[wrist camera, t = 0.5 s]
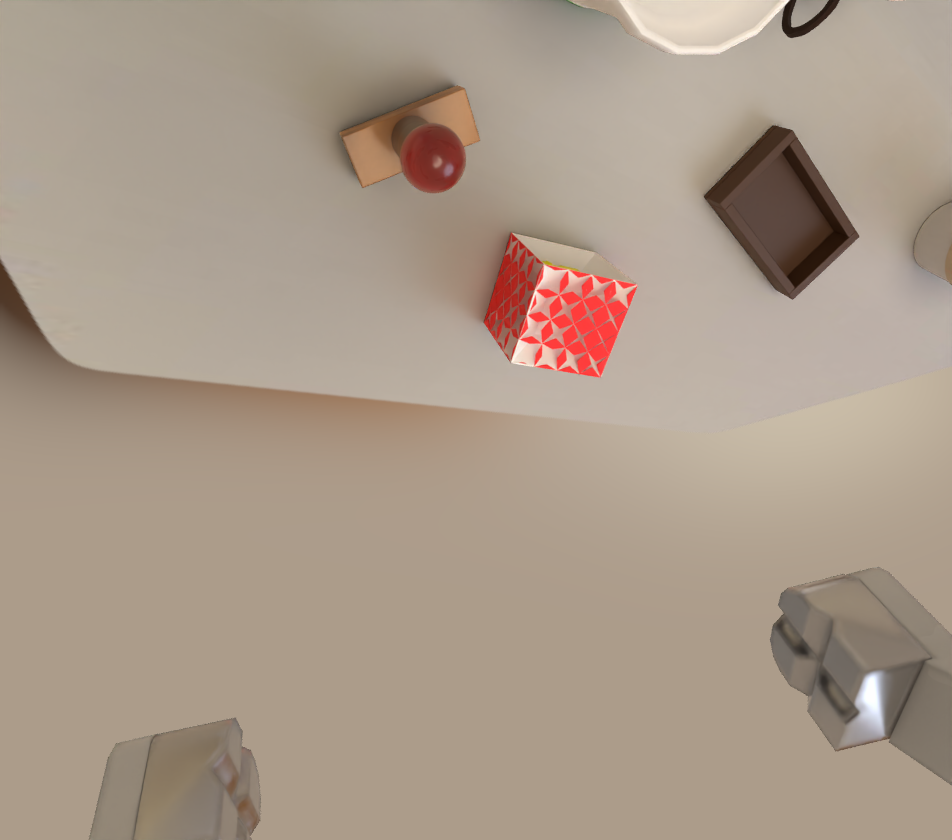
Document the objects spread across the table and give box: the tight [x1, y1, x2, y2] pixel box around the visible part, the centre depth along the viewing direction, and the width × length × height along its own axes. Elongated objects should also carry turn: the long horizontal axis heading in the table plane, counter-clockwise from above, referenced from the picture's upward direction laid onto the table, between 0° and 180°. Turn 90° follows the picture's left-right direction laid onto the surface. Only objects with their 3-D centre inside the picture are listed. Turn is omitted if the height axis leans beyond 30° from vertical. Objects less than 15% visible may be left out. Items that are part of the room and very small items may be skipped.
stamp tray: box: [704, 126, 859, 299], centre depth 60 cm, size 13×8×2 cm, turn 45°
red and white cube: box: [484, 233, 638, 377], centre depth 56 cm, size 8×8×8 cm
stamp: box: [340, 85, 480, 193], centre depth 45 cm, size 9×4×12 cm, turn 108°
